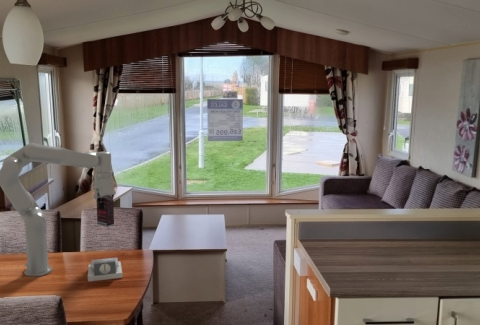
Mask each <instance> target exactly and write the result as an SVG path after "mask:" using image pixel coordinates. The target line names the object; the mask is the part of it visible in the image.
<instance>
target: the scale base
mask: <svg viewBox="0 0 480 325" xmlns="http://www.w3.org/2000/svg"><path fill="white" fill-rule="evenodd" d="M122 278H123V268H122V263H121V260H120V261H119V260H118V267H116V263H115V260H113V261H104V262H94V270H91V263H90V264H88V265H87V282H95V281H103V280H106V281H107V280H113V279H122Z"/></svg>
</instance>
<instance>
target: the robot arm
mask: <svg viewBox="0 0 480 325" xmlns="http://www.w3.org/2000/svg"><path fill="white" fill-rule="evenodd" d="M32 162H34V163H35V162H36V163H45V164H46V163H47V164H55V165H61V166H69V167H77V168H83V169H85V168H86V169H93V168H95V167H96V177H95V179H94V180H95V181H94V194H93V199H94V200H95V201H96V203H97V202H98V206H99V209H100V210H104V203H103V197H105V196H111V197H113V198H114V197H115V195H116V190H115V185H114V179H113V175H112V174H113V170H112V153H111V152H110V151H85V152H82V151H75V150H71V149H69V148H68V149H67V148H64V147H60V146H53V145H51V146H50V145H44V144H38V143H35V142H30V143H28V144H25V145H24V146H22V147H21V148H19V149H18V150H16V151H14V152H13V153H11V154H9V155H8V156H6V157H5V159H4V158H3V161H2V166H1V169H0V188H1V189H2V191H3V193H4V194H5V196H6V197H7V199H8V200H9V202H10V203H11V206H12V207H13V208H14V210H16V212H18V214H19V216H20V217H21V219H22V220H23V222H24V229H25V231H24V232H25V233H24V234H25V246H26V260H27V262H26V263H24V266H26V269H25V270H24V276H27V277H32V278H33V277H41V276H45V275H47V274H51V272H52V271H53V268H52V266H50V265H49V253H48V252H49V251H48V237H47V236H48V234H47V224H48V223H47V218H46V215H45V214H44V212H43V210H42V209H41V207H40V205H39V204H38V203H37V201H36V200H35V199H34V197H33V195H32V194H31V193H30V192H29V191H28V190H26V188H25V187H24V185H23V184H22V182H21V180H20V178H19V177H20V174H21V172H22V171H23V168H24V167H26V166H28V165H29V164H31V163H32ZM97 196H98V197H97ZM100 198H101V199H100Z"/></svg>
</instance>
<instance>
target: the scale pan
mask: <svg viewBox="0 0 480 325" xmlns="http://www.w3.org/2000/svg"><path fill="white" fill-rule="evenodd" d="M113 260H115V263H116V267H118V262H119V260H118V257H108V258H100V259H90V264H91V270H94V262H104V261H113Z"/></svg>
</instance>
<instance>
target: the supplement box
mask: <svg viewBox="0 0 480 325" xmlns="http://www.w3.org/2000/svg"><path fill="white" fill-rule="evenodd" d="M97 197H98V196H97ZM100 199H101V198H100ZM103 203H104V210H100V209H99V206H98V202H97V201H96V217H97V218H96V220H97V222H96V223H97V226H101V227H105V228H110V227H114V226H115V214H114V213H115V211H114V207H115V205H114V197H111V196H105V197H103Z"/></svg>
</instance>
